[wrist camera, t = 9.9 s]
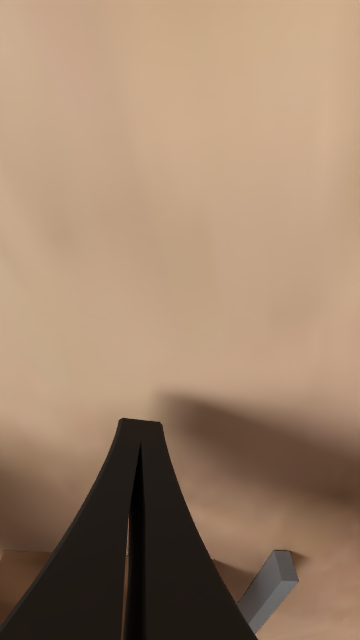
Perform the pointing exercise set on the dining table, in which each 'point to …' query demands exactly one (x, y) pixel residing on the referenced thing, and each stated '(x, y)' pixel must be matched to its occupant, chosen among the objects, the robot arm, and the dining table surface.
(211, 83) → the dining table surface
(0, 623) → the walnut T-block
